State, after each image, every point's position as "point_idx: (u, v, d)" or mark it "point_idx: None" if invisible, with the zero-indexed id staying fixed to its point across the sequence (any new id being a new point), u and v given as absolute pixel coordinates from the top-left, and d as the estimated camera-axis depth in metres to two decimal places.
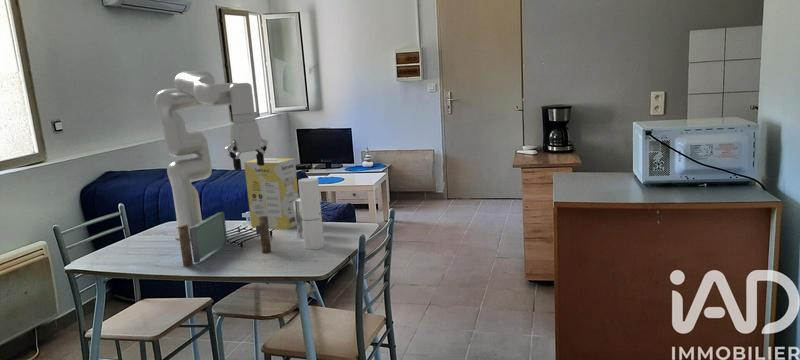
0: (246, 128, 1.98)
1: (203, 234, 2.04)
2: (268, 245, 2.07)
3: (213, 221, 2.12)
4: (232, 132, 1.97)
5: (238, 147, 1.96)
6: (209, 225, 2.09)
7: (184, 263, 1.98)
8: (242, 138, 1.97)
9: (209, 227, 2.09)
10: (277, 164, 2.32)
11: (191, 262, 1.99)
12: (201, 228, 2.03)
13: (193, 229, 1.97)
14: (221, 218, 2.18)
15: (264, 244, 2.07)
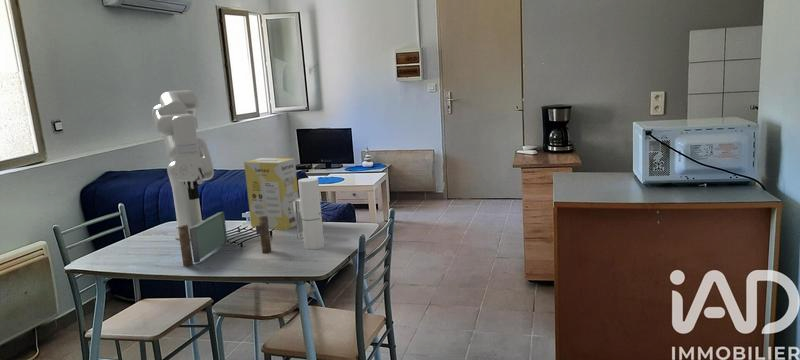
0: None
1: (203, 234, 2.04)
2: (268, 245, 2.07)
3: (213, 221, 2.12)
4: (197, 160, 2.06)
5: (203, 173, 2.09)
6: (209, 225, 2.09)
7: (184, 263, 1.98)
8: None
9: (209, 227, 2.09)
10: (277, 164, 2.32)
11: (191, 262, 1.99)
12: (201, 228, 2.03)
13: (193, 229, 1.97)
14: (221, 218, 2.18)
15: (264, 244, 2.07)
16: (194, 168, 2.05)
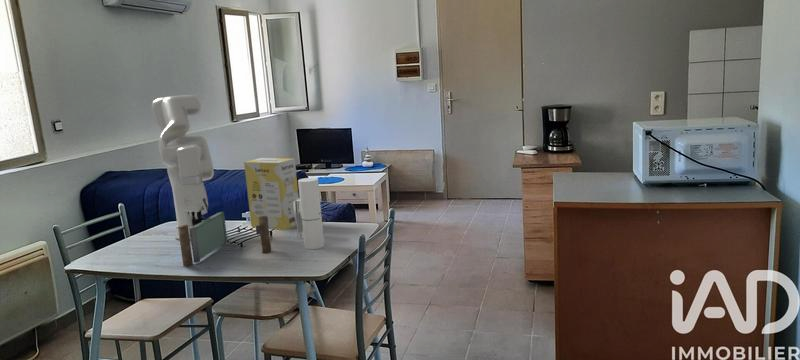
0: None
1: (203, 234, 2.04)
2: (268, 245, 2.07)
3: (213, 221, 2.12)
4: (201, 191, 2.08)
5: (207, 204, 2.11)
6: (209, 225, 2.09)
7: (184, 263, 1.98)
8: None
9: (209, 227, 2.09)
10: (277, 164, 2.32)
11: (191, 262, 1.99)
12: (201, 228, 2.03)
13: (193, 229, 1.97)
14: (221, 218, 2.18)
15: (264, 244, 2.07)
16: (198, 199, 2.07)
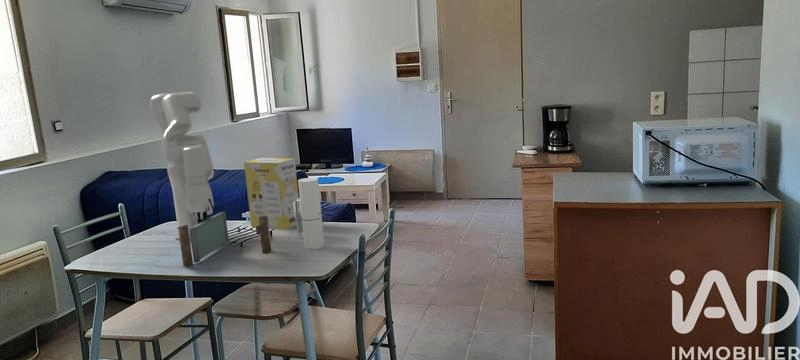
0: None
1: (204, 234, 2.04)
2: (268, 245, 2.07)
3: (214, 221, 2.12)
4: (206, 192, 2.06)
5: (213, 204, 2.10)
6: (210, 225, 2.09)
7: (184, 263, 1.98)
8: None
9: (210, 227, 2.09)
10: (277, 164, 2.32)
11: (191, 262, 1.99)
12: (201, 228, 2.03)
13: (193, 229, 1.97)
14: (222, 218, 2.18)
15: (264, 244, 2.07)
16: (204, 199, 2.06)
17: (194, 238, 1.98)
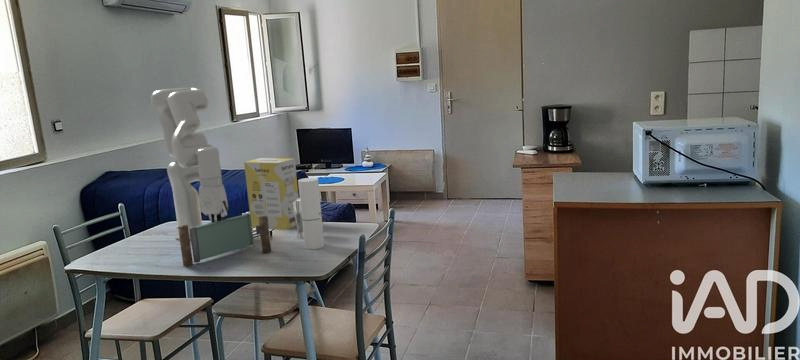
0: None
1: (210, 235, 2.02)
2: (268, 245, 2.07)
3: (230, 223, 2.07)
4: (221, 194, 2.03)
5: (227, 206, 2.06)
6: (222, 226, 2.06)
7: (184, 263, 1.98)
8: None
9: (222, 229, 2.05)
10: (277, 164, 2.32)
11: (191, 262, 1.99)
12: (206, 229, 2.01)
13: (191, 229, 1.97)
14: (245, 220, 2.12)
15: (264, 244, 2.07)
16: (218, 201, 2.02)
17: (192, 238, 1.98)
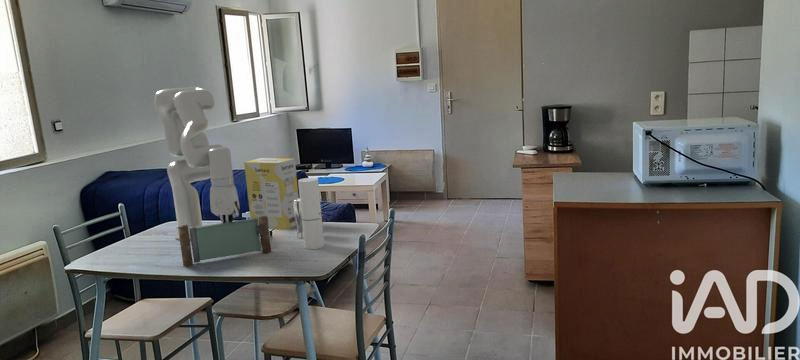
0: None
1: (211, 236, 2.00)
2: (268, 245, 2.07)
3: (234, 226, 2.03)
4: (232, 194, 2.01)
5: (239, 207, 2.04)
6: (225, 229, 2.02)
7: (184, 263, 1.98)
8: None
9: (224, 231, 2.02)
10: (277, 164, 2.32)
11: (191, 262, 1.99)
12: (207, 230, 2.00)
13: (190, 229, 1.97)
14: (252, 225, 2.05)
15: (264, 244, 2.07)
16: (230, 202, 2.00)
17: (191, 238, 1.98)
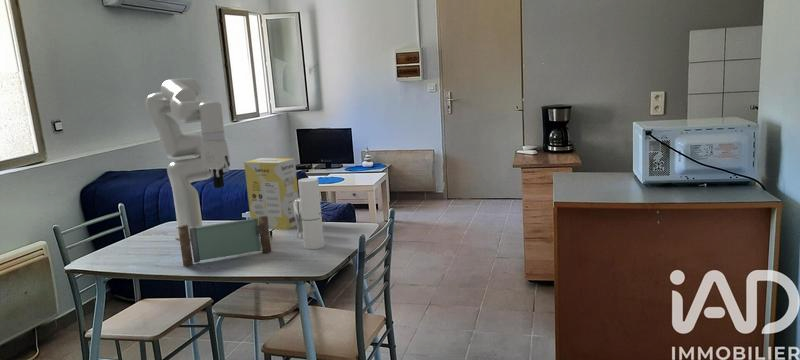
0: None
1: (211, 236, 2.00)
2: (268, 245, 2.07)
3: (234, 226, 2.03)
4: (223, 148, 2.02)
5: (229, 162, 2.05)
6: (225, 229, 2.02)
7: (184, 263, 1.98)
8: None
9: (224, 231, 2.02)
10: (277, 164, 2.32)
11: (191, 262, 1.99)
12: (207, 230, 2.00)
13: (190, 229, 1.97)
14: (252, 225, 2.05)
15: (264, 244, 2.07)
16: (220, 156, 2.01)
17: (191, 238, 1.98)
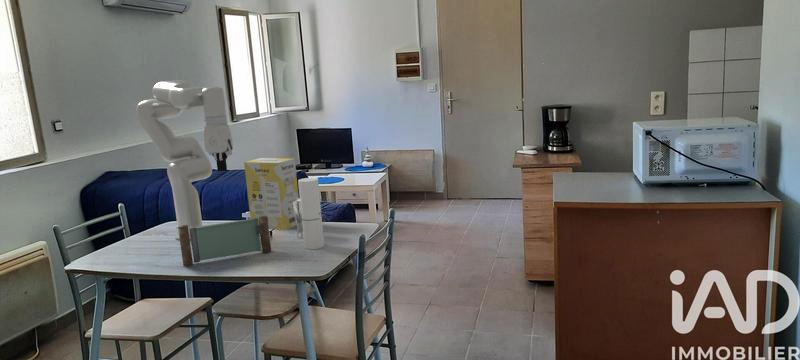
0: None
1: (211, 236, 2.00)
2: (268, 245, 2.07)
3: (234, 226, 2.03)
4: (226, 132, 2.08)
5: (232, 145, 2.11)
6: (225, 229, 2.02)
7: (184, 263, 1.98)
8: None
9: (224, 231, 2.02)
10: (277, 164, 2.32)
11: (191, 262, 1.99)
12: (207, 230, 2.00)
13: (190, 229, 1.97)
14: (252, 225, 2.05)
15: (264, 244, 2.07)
16: (223, 139, 2.07)
17: (191, 238, 1.98)
